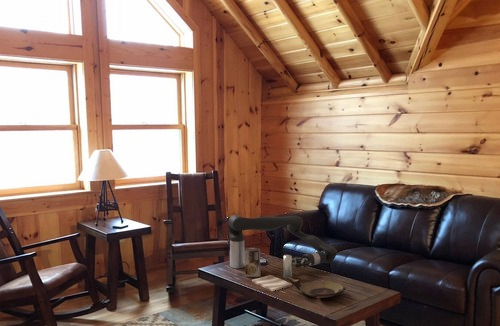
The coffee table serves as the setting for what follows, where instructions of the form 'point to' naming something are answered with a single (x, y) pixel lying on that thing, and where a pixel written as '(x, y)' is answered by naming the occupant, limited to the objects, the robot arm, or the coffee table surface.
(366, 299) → the coffee table surface
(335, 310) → the coffee table surface
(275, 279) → the ash board
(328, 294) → the oil lamp
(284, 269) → the metal tin
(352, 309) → the coffee table surface
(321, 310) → the coffee table surface
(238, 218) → the robot arm
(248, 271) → the coffee box
